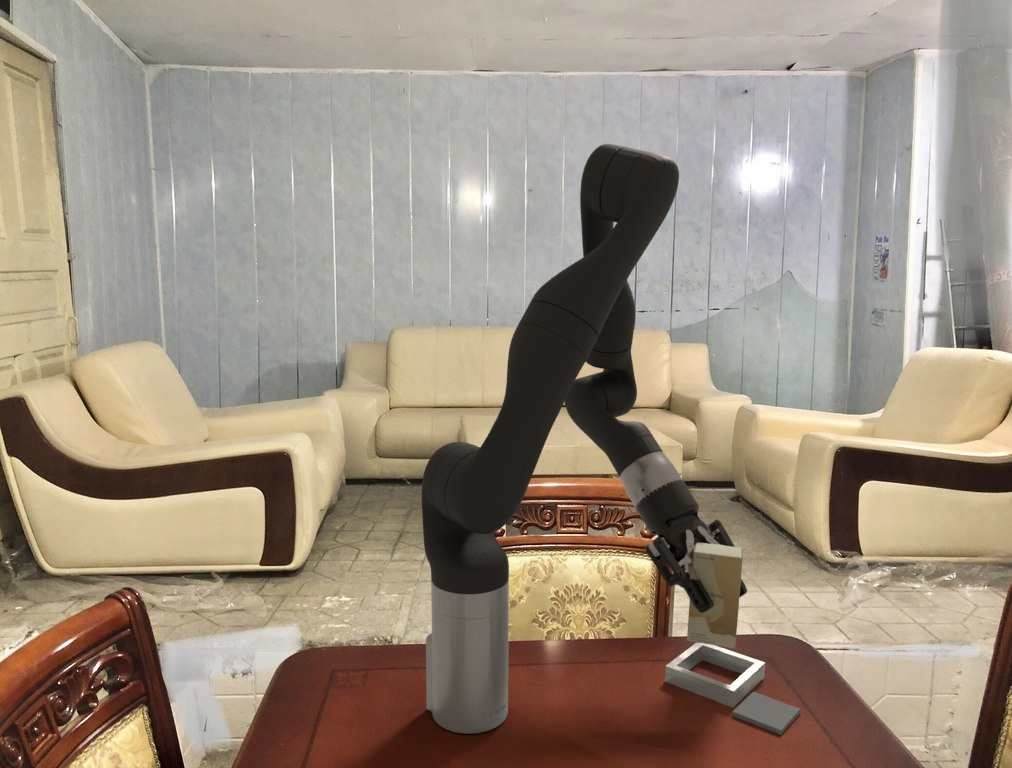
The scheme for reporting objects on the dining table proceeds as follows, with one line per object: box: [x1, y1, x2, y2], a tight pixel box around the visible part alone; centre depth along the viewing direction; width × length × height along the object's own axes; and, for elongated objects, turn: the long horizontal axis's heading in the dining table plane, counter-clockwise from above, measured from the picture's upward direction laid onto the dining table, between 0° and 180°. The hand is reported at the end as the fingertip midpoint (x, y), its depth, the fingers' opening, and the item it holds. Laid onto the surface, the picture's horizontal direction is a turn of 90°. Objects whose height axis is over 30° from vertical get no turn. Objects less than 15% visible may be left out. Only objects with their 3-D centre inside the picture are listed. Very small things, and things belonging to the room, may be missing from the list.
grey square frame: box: [664, 642, 766, 709], centre depth 106 cm, size 10×10×2 cm
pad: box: [732, 691, 801, 736], centre depth 98 cm, size 6×6×1 cm
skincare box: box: [686, 542, 744, 649], centre depth 104 cm, size 6×4×12 cm
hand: (724, 602), depth 103 cm, fingers closed on skincare box, 6 cm apart
